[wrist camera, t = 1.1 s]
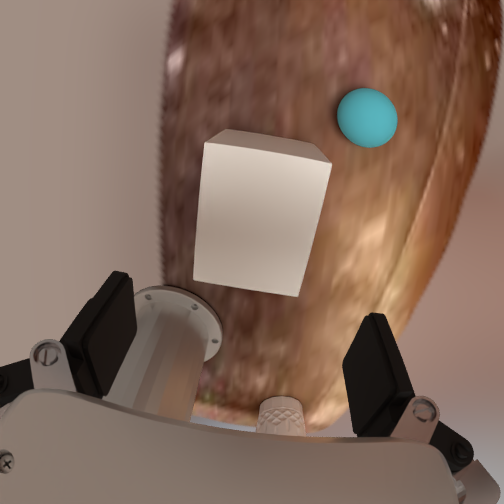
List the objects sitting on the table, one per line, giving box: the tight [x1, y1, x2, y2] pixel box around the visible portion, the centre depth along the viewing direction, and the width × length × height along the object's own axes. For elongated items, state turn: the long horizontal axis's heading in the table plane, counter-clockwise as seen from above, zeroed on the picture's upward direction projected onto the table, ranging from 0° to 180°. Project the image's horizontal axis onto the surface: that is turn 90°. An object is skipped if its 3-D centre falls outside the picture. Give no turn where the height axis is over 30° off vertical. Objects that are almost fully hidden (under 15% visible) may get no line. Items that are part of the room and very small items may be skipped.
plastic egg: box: [337, 88, 397, 148], centre depth 21 cm, size 5×5×5 cm
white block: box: [193, 129, 332, 297], centre depth 24 cm, size 10×8×9 cm
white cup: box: [256, 396, 306, 437], centre depth 39 cm, size 8×8×10 cm
